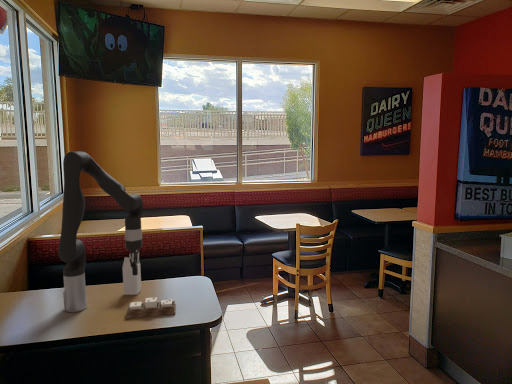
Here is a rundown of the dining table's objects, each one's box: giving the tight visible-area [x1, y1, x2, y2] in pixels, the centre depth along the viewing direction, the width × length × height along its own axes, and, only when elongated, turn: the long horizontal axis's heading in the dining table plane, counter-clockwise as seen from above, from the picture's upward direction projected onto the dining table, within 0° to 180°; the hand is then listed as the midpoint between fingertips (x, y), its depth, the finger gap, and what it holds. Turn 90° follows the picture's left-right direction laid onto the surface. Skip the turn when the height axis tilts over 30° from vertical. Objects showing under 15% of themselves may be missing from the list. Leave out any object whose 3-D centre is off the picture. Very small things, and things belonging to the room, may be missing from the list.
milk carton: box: [121, 257, 142, 296], centre depth 210 cm, size 7×7×19 cm
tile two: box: [144, 296, 158, 308], centre depth 186 cm, size 5×5×3 cm
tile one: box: [129, 301, 143, 310], centre depth 185 cm, size 5×5×3 cm
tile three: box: [160, 299, 173, 307], centre depth 187 cm, size 5×5×3 cm
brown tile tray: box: [125, 300, 177, 320], centre depth 186 cm, size 22×10×3 cm, turn 100°
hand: (135, 274), depth 184 cm, fingers closed
